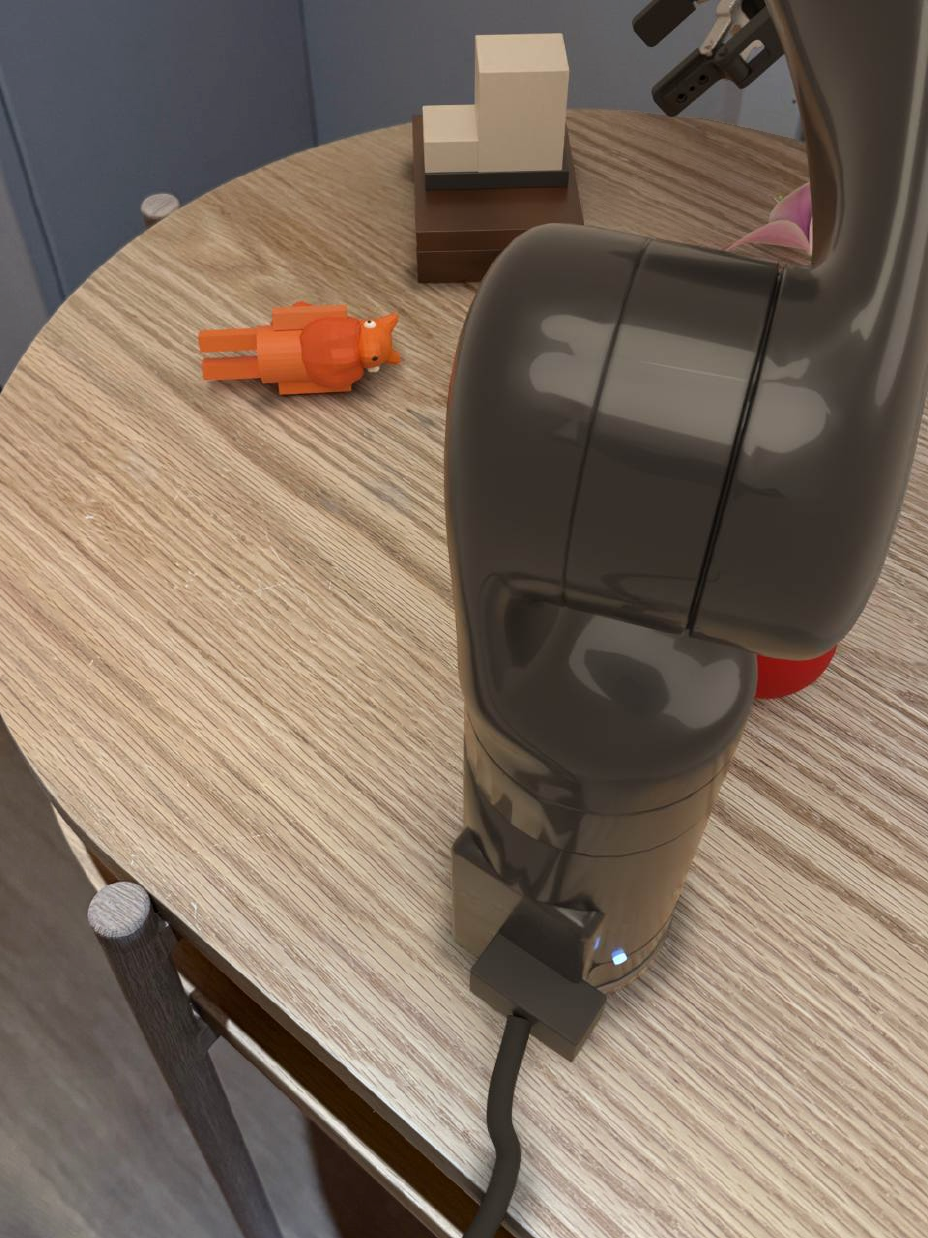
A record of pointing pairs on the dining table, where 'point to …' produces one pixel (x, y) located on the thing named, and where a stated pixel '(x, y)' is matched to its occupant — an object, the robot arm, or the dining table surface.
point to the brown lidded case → (480, 219)
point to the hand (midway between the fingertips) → (649, 69)
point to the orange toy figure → (303, 349)
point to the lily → (786, 223)
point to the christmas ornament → (788, 674)
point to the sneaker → (504, 119)
